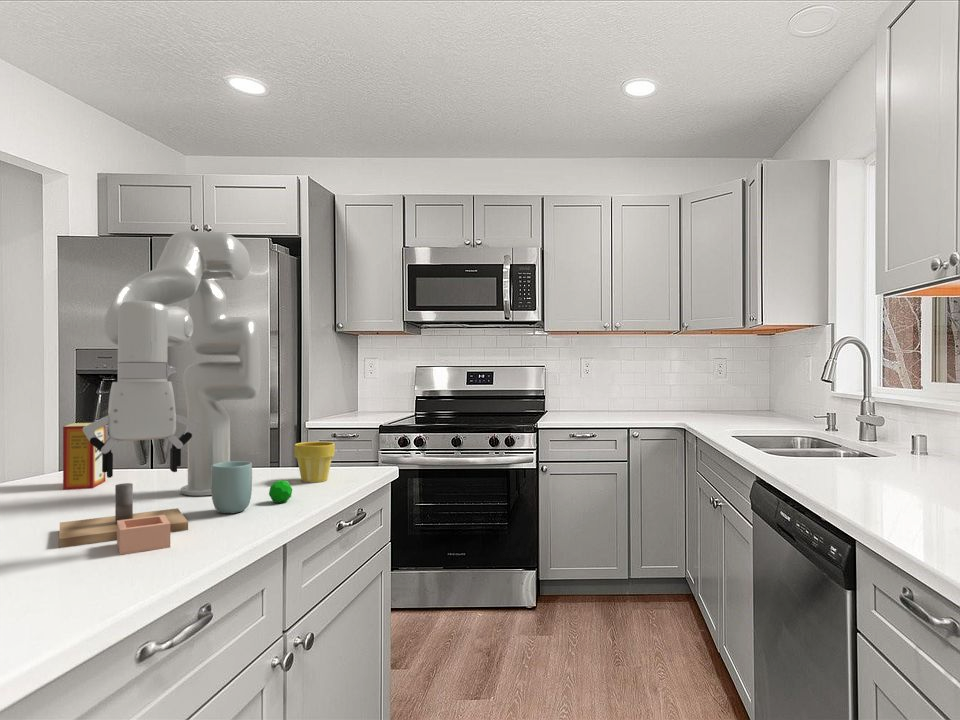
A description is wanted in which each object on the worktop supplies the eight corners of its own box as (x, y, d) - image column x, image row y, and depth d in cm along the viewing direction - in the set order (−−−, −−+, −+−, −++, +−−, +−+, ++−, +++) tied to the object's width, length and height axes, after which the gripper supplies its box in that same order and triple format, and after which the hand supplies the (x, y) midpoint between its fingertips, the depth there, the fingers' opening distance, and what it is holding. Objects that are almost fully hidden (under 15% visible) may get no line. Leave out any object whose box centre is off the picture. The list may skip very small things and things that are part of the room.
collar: (164, 536, 111) (164, 514, 111) (170, 547, 105) (170, 523, 105) (117, 543, 107) (116, 520, 107) (120, 554, 101) (120, 530, 101)
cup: (259, 508, 133) (259, 462, 133) (234, 517, 125) (233, 467, 125) (230, 506, 135) (229, 460, 135) (203, 514, 128) (203, 465, 128)
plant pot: (324, 475, 172) (324, 440, 172) (341, 480, 164) (341, 443, 164) (288, 479, 165) (288, 443, 165) (304, 485, 157) (304, 447, 157)
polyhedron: (273, 505, 135) (273, 483, 135) (265, 502, 139) (265, 480, 139) (295, 502, 139) (295, 481, 139) (287, 498, 142) (287, 478, 142)
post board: (177, 515, 127) (177, 474, 127) (188, 529, 116) (188, 484, 116) (59, 530, 116) (59, 485, 116) (59, 547, 105) (59, 497, 105)
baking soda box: (77, 482, 162) (77, 421, 163) (105, 481, 164) (105, 420, 164) (63, 489, 153) (63, 425, 153) (92, 488, 155) (92, 424, 155)
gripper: (194, 373, 114) (193, 466, 114) (82, 373, 104) (81, 475, 104) (201, 373, 108) (201, 471, 107) (83, 373, 98) (82, 482, 98)
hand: (142, 473), depth 106 cm, fingers open, 9 cm apart
